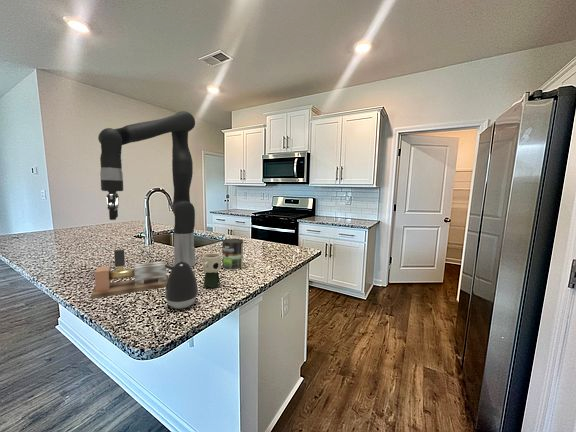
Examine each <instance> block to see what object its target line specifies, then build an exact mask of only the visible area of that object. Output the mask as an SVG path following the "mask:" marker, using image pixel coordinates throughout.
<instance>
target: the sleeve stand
mask: <svg viewBox="0 0 576 432" xmlns="http://www.w3.org/2000/svg"><path fill="white" fill-rule="evenodd" d="M166 264H167V263H166V261H165V260H164V261H156V262H147V263H138V264H134V267H133V269H134V274H135V277H134V279H128V280H122V281H116V282H115V281H114V282H111V286H110V290H107V291H100V292H96V288H95V287H94V288H93V290H92V291H91V294H90V295H91V298H90V299H91V300H93V299H94V300H95V299H100V298H106V297H110V296H111V297H112V296H118V295H124V294H130V293H131V294H132V293H137V292H143V291H149V290H155V289H162V288H166V285H167V281H168V277H169V275H168V274H167V268H166V267H165V265H166Z"/></svg>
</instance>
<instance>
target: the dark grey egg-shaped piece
mask: <svg viewBox="0 0 576 432" xmlns="http://www.w3.org/2000/svg"><path fill="white" fill-rule="evenodd" d="M165 267H166V269H168V270H170V273H169V275H168V281H167V285H166V287H165V295H164V297H165V299H166V301H167V304H168V305H169V306H170V307H171V308H173V309H177V310H178V309H180V310H181V308H182V309H185V308H188V307H190V306H192V305H193V304H194V303H195V301H196V299H197V296H198V294H199V288H198V283H197V282H198V281H197V278H196V275H195V272H194V270H193V268H192V267H190V265H189V264H188V263H186V262H178V263H176V264H174V265H171V264H168V263H166V265H165Z"/></svg>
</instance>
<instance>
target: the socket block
mask: <svg viewBox="0 0 576 432" xmlns="http://www.w3.org/2000/svg"><path fill="white" fill-rule="evenodd" d="M109 272H111V265H106V266H105V265H104V266H97V267H96V268H95V271H94V284H95V285H94V288H96V292H100V291H107V290H110V286H111V283H112V280H109Z"/></svg>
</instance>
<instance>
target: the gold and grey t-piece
mask: <svg viewBox="0 0 576 432" xmlns="http://www.w3.org/2000/svg"><path fill="white" fill-rule="evenodd" d="M113 255H114V267H115V268H116V270H114V271H113V270H112V271H111V270H110V272H109V280H111V281H112V280H119V279H126V278H127V279H128V278H133V277H134V278H135V274H134V268H130V269H129V268H128V269H124V267H125V265H126V259H125V257H126V255H125V248H124V249H115V250H114V253H113Z"/></svg>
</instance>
